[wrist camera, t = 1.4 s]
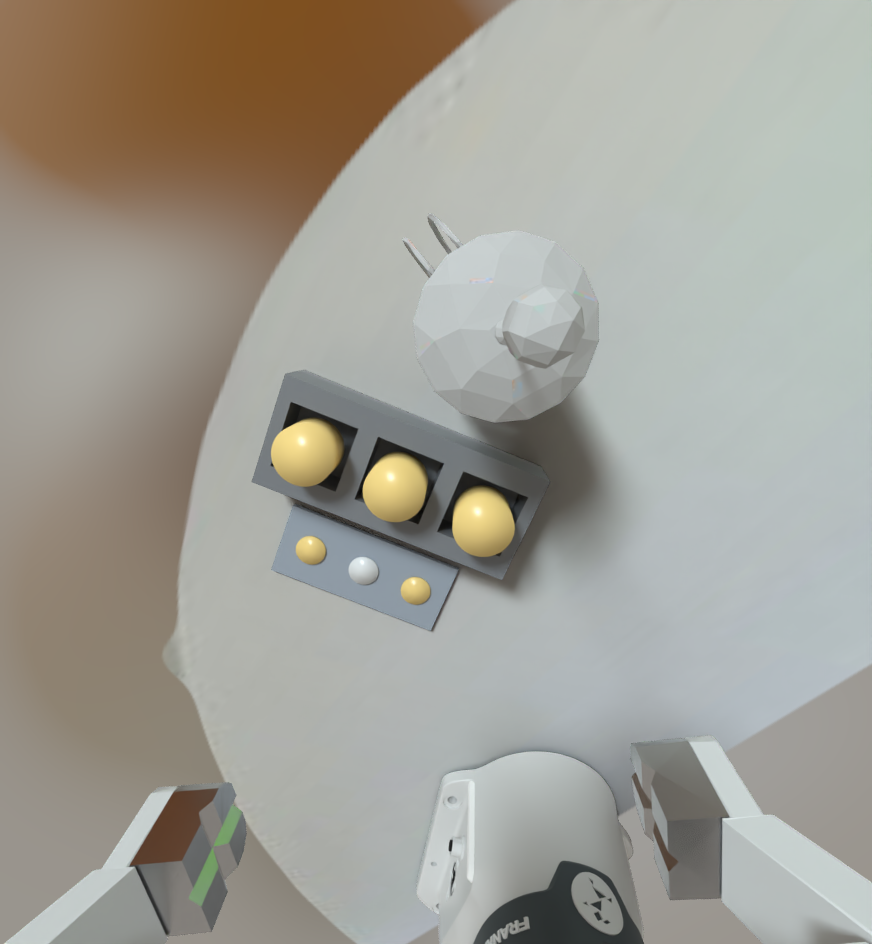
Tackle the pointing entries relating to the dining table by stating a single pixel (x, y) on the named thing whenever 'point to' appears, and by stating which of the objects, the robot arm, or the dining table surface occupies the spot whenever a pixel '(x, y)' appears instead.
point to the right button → (482, 521)
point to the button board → (363, 554)
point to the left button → (307, 451)
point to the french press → (504, 324)
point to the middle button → (396, 487)
